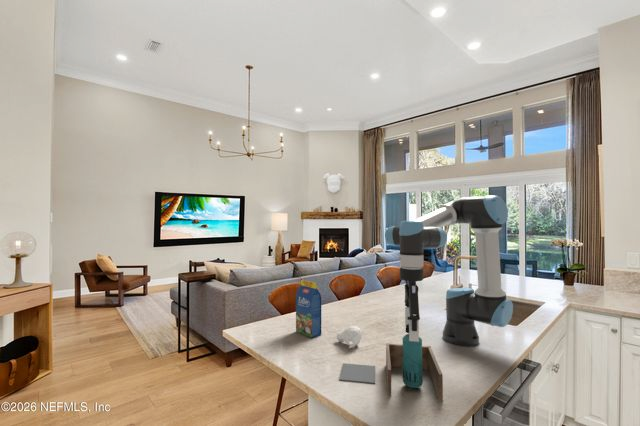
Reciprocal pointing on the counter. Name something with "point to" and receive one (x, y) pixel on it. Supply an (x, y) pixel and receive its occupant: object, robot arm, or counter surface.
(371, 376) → the mat
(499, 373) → the counter surface
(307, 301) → the blue food package
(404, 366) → the beverage bottle
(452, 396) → the counter surface
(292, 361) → the counter surface
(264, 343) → the counter surface
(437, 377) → the wooden u-frame
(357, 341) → the white crumpled lump
